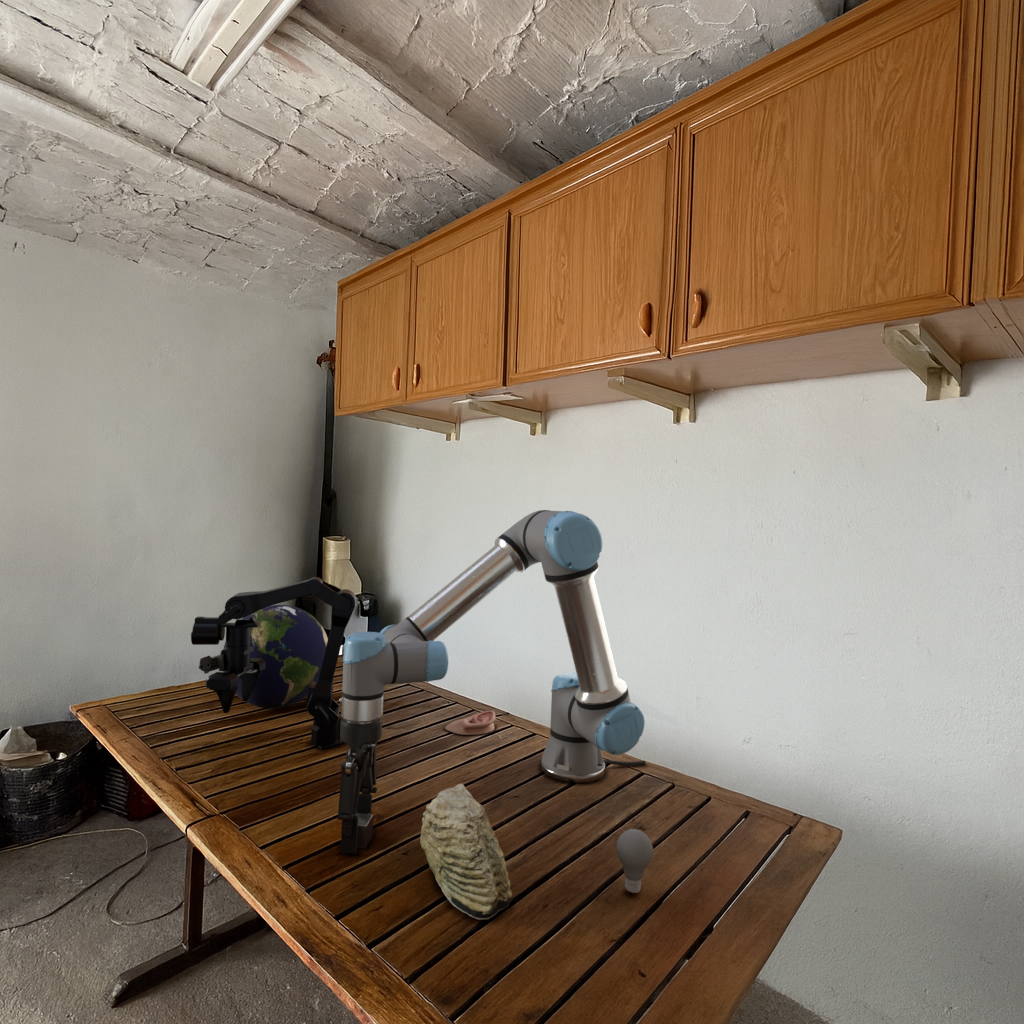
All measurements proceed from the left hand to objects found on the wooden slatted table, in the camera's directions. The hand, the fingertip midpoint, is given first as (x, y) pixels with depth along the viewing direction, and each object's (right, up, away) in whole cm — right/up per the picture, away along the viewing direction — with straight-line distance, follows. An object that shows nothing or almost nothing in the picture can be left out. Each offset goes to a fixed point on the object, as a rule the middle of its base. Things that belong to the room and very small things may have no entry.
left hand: (235, 706), depth 158 cm
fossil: (+60, -14, -53) cm, 82 cm away
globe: (-2, -9, +31) cm, 32 cm away
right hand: (+40, -12, -40) cm, 58 cm away
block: (+40, -13, -40) cm, 58 cm away
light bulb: (+89, -15, -52) cm, 104 cm away
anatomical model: (+57, -12, +20) cm, 62 cm away
